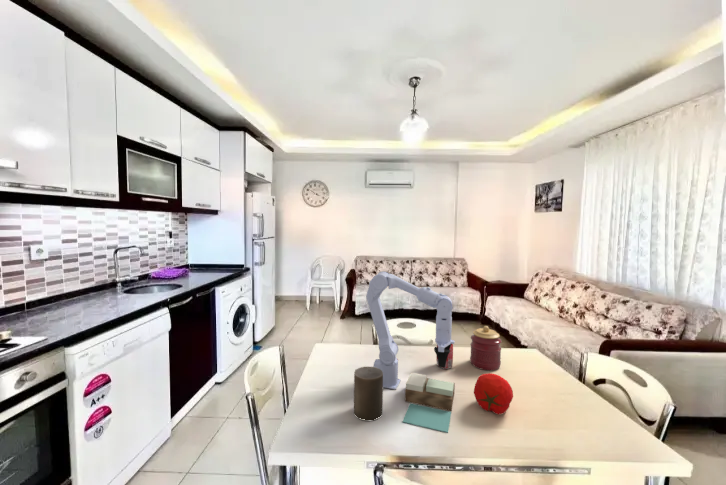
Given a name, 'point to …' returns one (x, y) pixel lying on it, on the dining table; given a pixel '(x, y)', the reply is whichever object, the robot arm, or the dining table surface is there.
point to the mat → (428, 417)
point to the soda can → (448, 359)
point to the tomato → (493, 393)
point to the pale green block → (440, 387)
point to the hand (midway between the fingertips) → (442, 363)
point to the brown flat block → (430, 398)
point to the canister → (485, 349)
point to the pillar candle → (368, 393)
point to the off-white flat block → (416, 382)
